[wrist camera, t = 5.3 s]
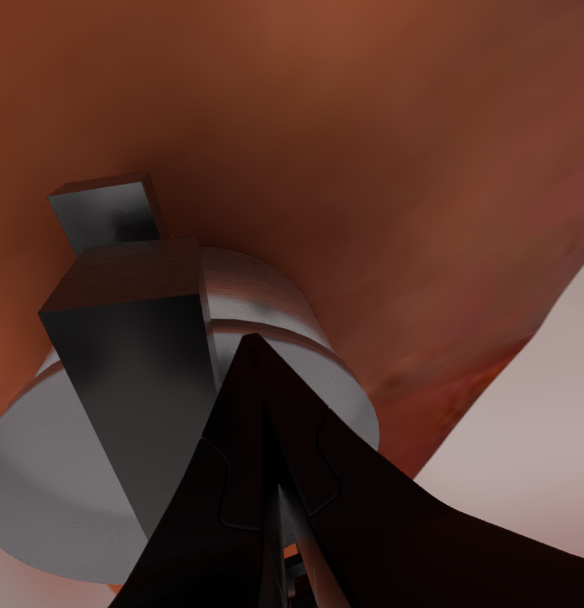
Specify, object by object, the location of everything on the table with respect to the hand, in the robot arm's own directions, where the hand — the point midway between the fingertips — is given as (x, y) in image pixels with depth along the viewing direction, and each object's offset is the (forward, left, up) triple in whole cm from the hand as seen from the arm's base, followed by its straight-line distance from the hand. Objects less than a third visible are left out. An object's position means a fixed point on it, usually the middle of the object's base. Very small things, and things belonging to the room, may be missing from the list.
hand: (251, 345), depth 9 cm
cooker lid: (-6, +3, -3) cm, 8 cm away
